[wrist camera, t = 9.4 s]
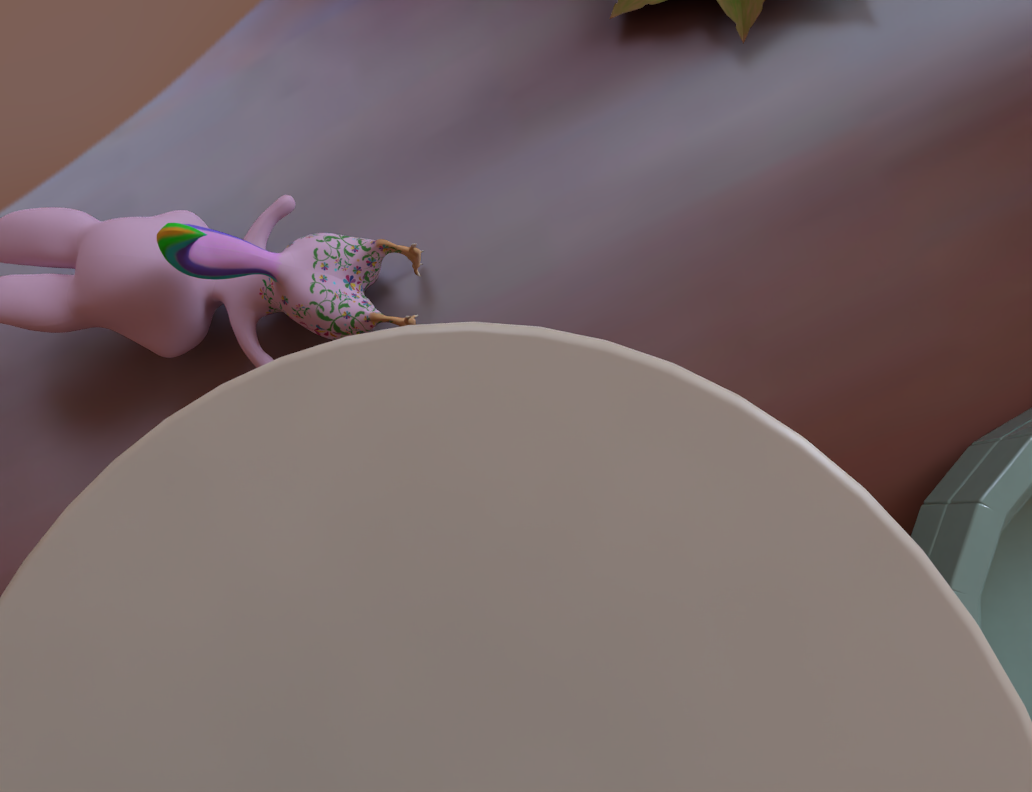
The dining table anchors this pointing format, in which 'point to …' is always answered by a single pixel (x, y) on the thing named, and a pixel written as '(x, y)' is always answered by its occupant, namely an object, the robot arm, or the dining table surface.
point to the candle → (490, 594)
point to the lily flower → (737, 3)
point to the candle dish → (989, 542)
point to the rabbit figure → (186, 278)
